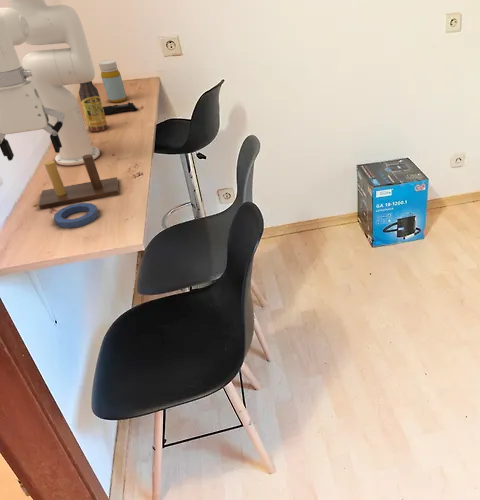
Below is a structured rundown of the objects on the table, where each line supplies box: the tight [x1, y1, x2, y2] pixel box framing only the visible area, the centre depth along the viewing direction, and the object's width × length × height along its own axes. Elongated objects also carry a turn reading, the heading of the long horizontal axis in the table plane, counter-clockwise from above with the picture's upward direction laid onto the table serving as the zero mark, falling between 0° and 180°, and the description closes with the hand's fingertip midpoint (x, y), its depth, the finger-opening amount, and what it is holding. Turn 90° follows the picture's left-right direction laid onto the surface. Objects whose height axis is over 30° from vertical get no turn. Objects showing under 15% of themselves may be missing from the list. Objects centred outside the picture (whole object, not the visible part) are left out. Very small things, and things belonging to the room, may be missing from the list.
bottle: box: [98, 59, 128, 104], centre depth 201 cm, size 7×7×15 cm
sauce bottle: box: [78, 80, 108, 133], centre depth 173 cm, size 6×6×20 cm
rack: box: [38, 154, 120, 210], centre depth 134 cm, size 9×19×10 cm, turn 112°
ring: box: [53, 202, 99, 229], centre depth 126 cm, size 10×10×2 cm
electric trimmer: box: [102, 101, 138, 115], centre depth 192 cm, size 4×16×3 cm, turn 114°
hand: (35, 154), depth 117 cm, fingers open, 9 cm apart
